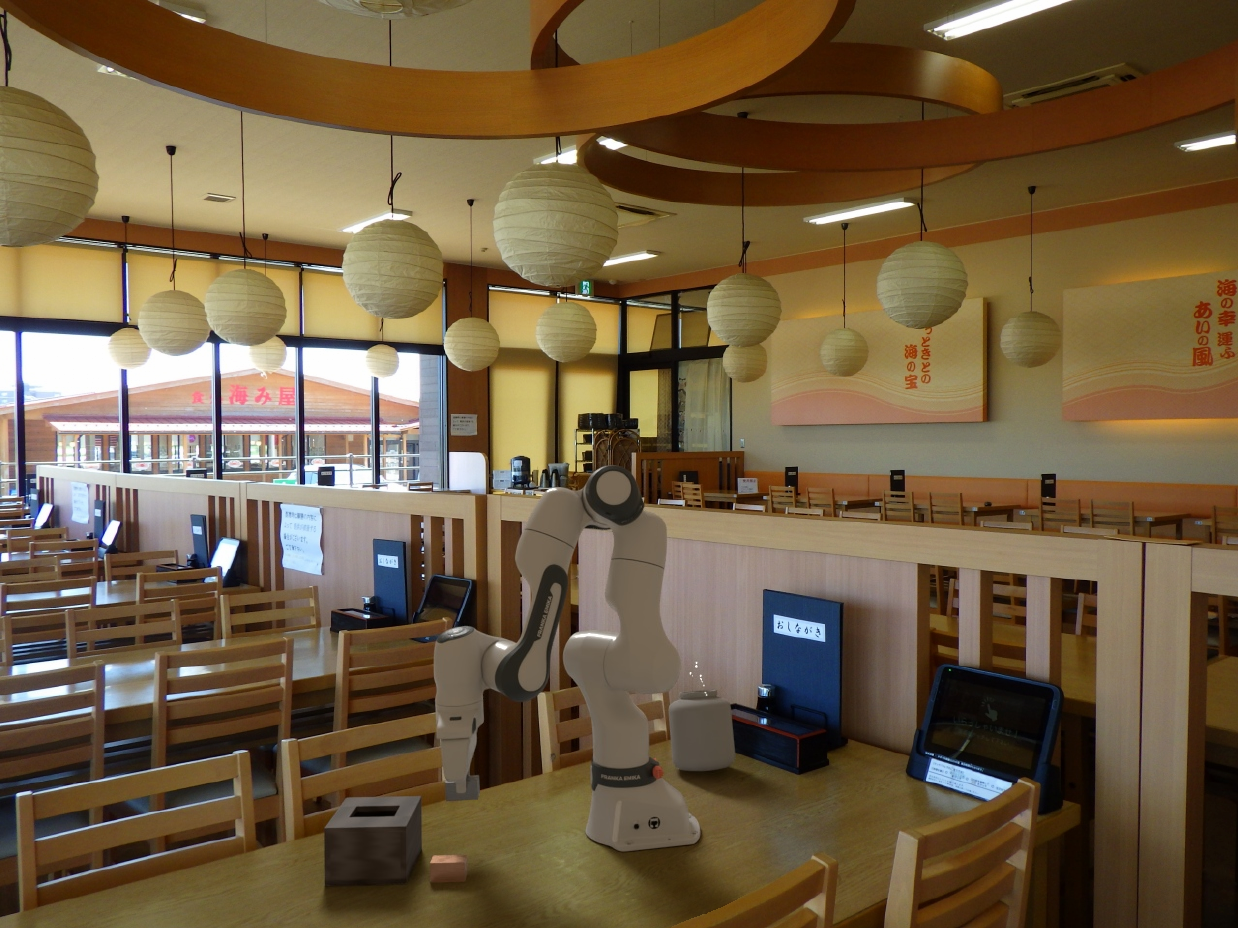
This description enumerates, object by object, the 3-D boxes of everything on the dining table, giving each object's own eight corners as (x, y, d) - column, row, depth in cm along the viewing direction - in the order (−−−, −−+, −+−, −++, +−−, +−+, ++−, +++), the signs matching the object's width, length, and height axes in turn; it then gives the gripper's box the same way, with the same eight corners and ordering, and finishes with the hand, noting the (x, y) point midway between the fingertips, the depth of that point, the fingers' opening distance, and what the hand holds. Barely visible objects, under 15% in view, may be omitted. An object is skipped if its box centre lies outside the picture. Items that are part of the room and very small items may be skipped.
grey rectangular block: (479, 793, 169) (478, 774, 169) (478, 799, 166) (477, 780, 166) (448, 794, 168) (447, 776, 168) (445, 801, 165) (444, 782, 165)
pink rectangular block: (467, 874, 157) (467, 854, 157) (464, 882, 154) (464, 862, 154) (433, 875, 156) (432, 855, 156) (430, 883, 153) (429, 862, 153)
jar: (657, 759, 217) (656, 657, 217) (713, 753, 221) (712, 653, 221) (686, 785, 199) (685, 674, 199) (745, 778, 203) (745, 669, 203)
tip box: (421, 848, 167) (421, 795, 167) (406, 883, 153) (406, 826, 153) (346, 850, 166) (346, 797, 166) (324, 885, 152) (324, 827, 152)
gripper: (450, 699, 177) (453, 767, 177) (434, 733, 156) (438, 810, 157) (482, 697, 177) (485, 765, 178) (470, 731, 157) (474, 808, 157)
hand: (463, 786), depth 167 cm, fingers closed on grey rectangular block, 3 cm apart
